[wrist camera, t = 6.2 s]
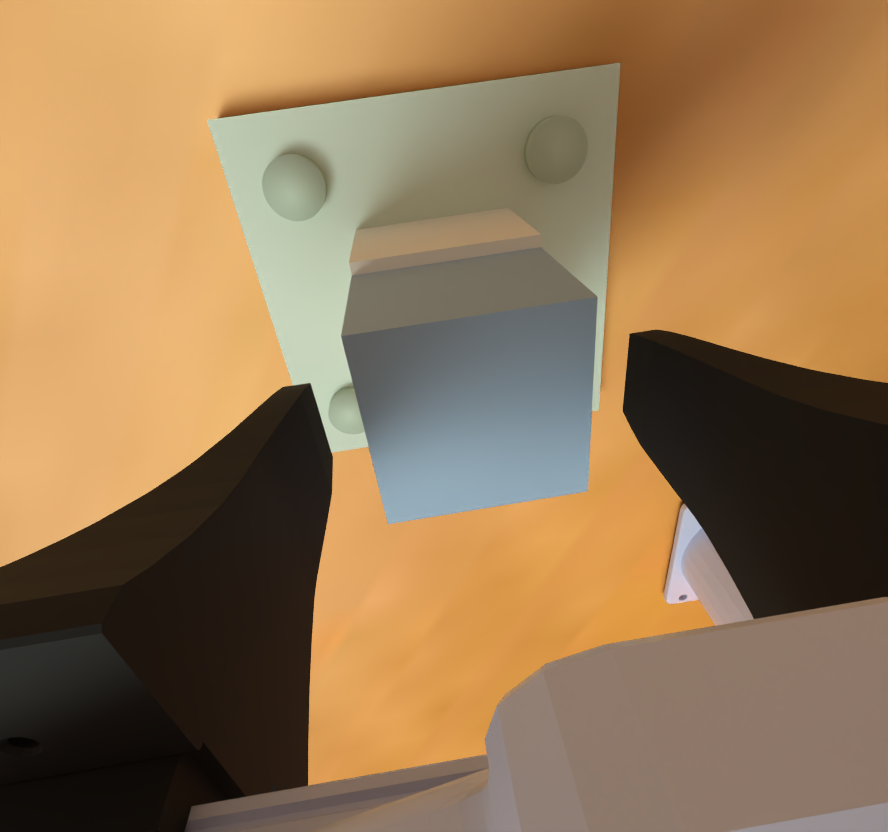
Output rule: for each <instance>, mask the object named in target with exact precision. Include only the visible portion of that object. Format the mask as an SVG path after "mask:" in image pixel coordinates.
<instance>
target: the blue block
mask: <svg viewBox="0 0 888 832" xmlns="http://www.w3.org/2000/svg"><path fill="white" fill-rule="evenodd" d="M597 300H598V297H597V296H596V295H595V294H594V293H593V292H592V291H591V290H589V289H588V288H587V287H586V286H585V285H584V284H583V283H581V282H580V281H579V280H578V279H577V278H576V277H575V276H574V275H572V274H571V273H570V272H569V271H568V270H567V269H566V268H564V267H563V266H562V265H561V264H560V263H559V262H558V261H556V260H555V259H554V258H553V257H552V256H551V255H550V254H548V253H547V252H546V251H545V250H544V249H543V248H542V247H539V248H532V249H526V250H519V251H512V252H506V253H499V254H493V255H486V256H479V257H473V258H466V259H459V260H453V261H446V262H440V263H433V264H426V265H420V266H413V267H406V268H400V269H393V270H386V271H380V272H373V273H367V274H360V275H353V276H352V277H351V282H350V288H349V294H348V299H347V305H346V311H345V316H344V322H343V328H342V333H341V338H342V342H343V346H344V350H345V354H346V358H347V362H348V366H349V370H350V374H351V378H352V382H353V386H354V390H355V394H356V398H357V402H358V406H359V410H360V414H361V418H362V422H363V426H364V430H365V434H366V438H367V442H368V446H369V450H370V454H371V458H372V462H373V466H374V470H375V474H376V478H377V482H378V486H379V490H380V494H381V498H382V502H383V506H384V510H385V514H386V518H387V522H388V524H392V523H398V522H404V521H410V520H416V519H422V518H428V517H434V516H440V515H446V514H453V513H459V512H465V511H471V510H477V509H483V508H489V507H495V506H501V505H507V504H513V503H519V502H525V501H532V500H538V499H544V498H550V497H556V496H562V495H568V494H574V493H580V492H586V491H588V476H589V456H590V437H591V417H592V398H593V378H594V359H595V339H596V320H597Z"/></svg>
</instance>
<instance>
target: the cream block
mask: <svg viewBox="0 0 888 832" xmlns="http://www.w3.org/2000/svg"><path fill="white" fill-rule="evenodd" d="M539 247H541V234H540V233H539V232H538V231H536V230H535V229H534V228H533V227H531V226H530V225H529V224H528V223H526V222H525V221H524V220H523V219H521V218H520V217H519V216H517V215H516V214H515V213H514V212H512V211H511V210H510V209H509V208H502V209H495V210H488V211H481V212H474V213H467V214H461V215H454V216H447V217H440V218H433V219H426V220H420V221H413V222H406V223H399V224H392V225H385V226H379V227H372V228H365V229H358V230H356V231H355V235H354V240H353V245H352V250H351V254H350V259H349V266H350V271H351V275H352V276H353V275H360V274H367V273H373V272H380V271H386V270H393V269H400V268H406V267H413V266H420V265H426V264H433V263H440V262H446V261H453V260H459V259H466V258H473V257H479V256H486V255H493V254H499V253H506V252H512V251H519V250H526V249H532V248H539Z"/></svg>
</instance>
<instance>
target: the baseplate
mask: <svg viewBox="0 0 888 832" xmlns="http://www.w3.org/2000/svg"><path fill="white" fill-rule="evenodd" d="M620 64H621V63H614V64H607V65H599V66H592V67H585V68H578V69H571V70H563V71H556V72H549V73H542V74H535V75H527V76H520V77H513V78H506V79H499V80H491V81H484V82H477V83H470V84H463V85H455V86H448V87H441V88H434V89H427V90H420V91H412V92H405V93H398V94H391V95H384V96H376V97H369V98H362V99H355V100H348V101H340V102H333V103H326V104H319V105H312V106H304V107H297V108H290V109H283V110H276V111H268V112H261V113H254V114H247V115H240V116H232V117H225V118H218V119H211V120H207V122H208V125H209V128H210V131H211V134H212V137H213V140H214V143H215V146H216V149H217V152H218V155H219V159H220V162H221V165H222V168H223V171H224V174H225V177H226V180H227V183H228V186H229V189H230V193H231V196H232V199H233V202H234V205H235V208H236V211H237V214H238V217H239V220H240V223H241V226H242V230H243V233H244V236H245V239H246V242H247V245H248V248H249V251H250V254H251V257H252V260H253V263H254V267H255V270H256V273H257V276H258V279H259V282H260V285H261V288H262V291H263V294H264V297H265V300H266V304H267V307H268V310H269V313H270V316H271V319H272V322H273V325H274V328H275V331H276V334H277V338H278V341H279V344H280V347H281V350H282V353H283V356H284V359H285V362H286V365H287V368H288V371H289V375H290V378H291V381H292V384H293V385H300V384H306V383H311V386H312V390H313V393H314V396H315V400H316V403H317V406H318V410H319V413H320V416H321V420H322V423H323V426H324V430H325V433H326V436H327V440H328V443H329V446H330V450H331V453H332V452H338V451H345V450H351V449H357V448H363V447H369V446H368V442H367V438H366V434H365V430H364V426H363V422H362V418H361V414H360V410H359V406H358V402H357V398H356V394H355V390H354V386H353V382H352V378H351V374H350V370H349V366H348V362H347V358H346V354H345V350H344V346H343V342H342V338H341V333H342V328H343V322H344V316H345V311H346V305H347V299H348V294H349V288H350V282H351V277H352V275H351V271H350V266H349V259H350V254H351V250H352V245H353V240H354V235H355V231H356V230H358V229H365V228H372V227H379V226H385V225H392V224H399V223H406V222H413V221H420V220H426V219H433V218H440V217H447V216H454V215H461V214H467V213H474V212H481V211H488V210H495V209H502V208H509V209H510V210H511V211H512V212H514V213H515V214H516V215H517V216H519V217H520V218H521V219H523V220H524V221H525V222H526V223H528V224H529V225H530V226H531V227H533V228H534V229H535V230H536V231H538V232H539V233H540V234H541V247H542V248H543V249H544V250H545V251H546V252H547V253H548V254H550V255H551V256H552V257H553V258H554V259H555V260H556V261H558V262H559V263H560V264H561V265H562V266H563V267H564V268H566V269H567V270H568V271H569V272H570V273H571V274H572V275H574V276H575V277H576V278H577V279H578V280H579V281H580V282H581V283H583V284H584V285H585V286H586V287H587V288H588V289H589V290H591V291H592V292H593V293H594V294H595V295H596V296H597V297H598V300H597V320H596V339H595V359H594V378H593V398H592V411H597V410H599V400H600V384H601V368H602V352H603V336H604V320H605V304H606V288H607V272H608V256H609V240H610V224H611V208H612V192H613V176H614V160H615V144H616V128H617V112H618V96H619V80H620Z"/></svg>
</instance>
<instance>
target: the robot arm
mask: <svg viewBox="0 0 888 832" xmlns="http://www.w3.org/2000/svg"><path fill="white" fill-rule="evenodd" d="M623 413H624V415H625V417H626V419H627V421H628V423H629V425H630V427H631V429H632V430H633V432H634V434H635V436H636V438H637V440H638V441H639V443H640V445H641V446H642V448H643V449H644V450H645V452H646V453H647V455H648V456H649V457H650V459H651V460H652V461H653V463H654V464H655V465H656V467H657V468H658V469H659V471H660V472H661V473H662V475H663V476H664V477H665V479H666V480H667V481H668V483H669V484H670V485H671V487H672V488H673V489H674V490H675V492H676V493H677V494H678V496H679V497H680V498H681V500H682V501H683V502H684V504H683V505H682V506H681V509H680V513H679V518H678V523H677V528H676V533H675V539H674V544H673V549H672V554H671V559H670V565H669V570H668V575H667V580H666V585H665V590H664V599H665V600H666V602H667V603H669V604H675V603H681V602H687V601H693V600H699V601H700V602H701V604H702V605H703V607H704V608H705V610H706V612H707V613H708V615H709V616H710V618H711V619H712V621H713V622H714V624H715V626H711V627H705V628H700V629H694V630H688V631H682V632H676V633H670V634H664V635H658V636H653V637H647V638H641V639H635V640H629V641H623V642H617V643H612V644H606V645H602V646H599V647H596V648H593V649H590V650H587V651H584V652H581V653H577V654H574V655H571V656H568V657H565V658H562V659H559V660H556V661H553V662H550V663H547V664H545V665H544V666H542V667H541V668H540V669H538V670H537V671H536V672H534V673H533V674H532V675H530V676H529V677H528V678H526V679H525V680H524V681H522V682H521V683H520V684H518V685H517V686H516V687H514V688H513V689H512V690H510V691H509V692H508V693H506V694H505V696H504V697H503V698H502V700H501V701H500V702H499V704H498V705H497V707H496V710H495V713H494V716H493V718H492V721H491V724H490V727H489V729H488V732H487V735H486V738H485V744H486V751H487V754H486V755H481V756H475V757H469V758H464V759H458V760H452V761H446V762H441V763H435V764H429V765H424V766H418V767H412V768H407V769H401V770H395V771H389V772H384V773H378V774H372V775H367V776H361V777H355V778H349V779H344V780H338V781H332V782H327V783H321V784H315V785H310V786H308V726H309V686H310V664H311V641H312V625H313V610H314V596H315V588H316V581H317V574H318V569H319V563H320V557H321V552H322V546H323V541H324V535H325V530H326V524H327V519H328V513H329V507H330V501H331V495H332V468H333V456H332V453H331V450H330V446H329V443H328V440H327V436H326V433H325V430H324V426H323V423H322V420H321V416H320V413H319V410H318V406H317V403H316V400H315V396H314V393H313V390H312V386H311V383H306V384H300V385H293V386H287V387H282V388H281V389H279V390H278V391H277V392H275V393H274V394H273V395H272V396H271V397H269V398H268V399H267V400H266V401H265V402H264V403H263V404H262V405H260V406H259V407H258V408H257V409H256V410H255V411H254V412H253V413H252V414H250V415H249V416H248V417H247V418H246V419H245V420H244V421H243V422H241V423H240V424H239V425H238V426H237V427H236V428H235V429H234V430H232V431H231V432H230V433H229V434H228V435H226V436H225V437H224V438H223V439H221V440H220V441H219V442H218V443H217V444H215V445H214V446H213V447H212V448H210V449H209V450H208V451H207V452H205V453H204V454H203V455H202V456H200V457H199V458H198V459H197V460H195V461H194V462H193V463H191V464H190V465H189V466H187V467H186V468H184V469H183V470H182V471H180V472H179V473H177V474H176V475H174V476H173V477H171V478H170V479H168V480H167V481H165V482H164V483H162V484H161V485H159V486H158V487H156V488H155V489H153V490H152V491H150V492H148V493H147V494H145V495H143V496H142V497H140V498H138V499H136V500H135V501H133V502H131V503H129V504H128V505H126V506H124V507H122V508H121V509H119V510H117V511H115V512H114V513H112V514H110V515H108V516H107V517H105V518H103V519H101V520H100V521H98V522H96V523H94V524H92V525H90V526H88V527H86V528H84V529H82V530H80V531H78V532H76V533H74V534H72V535H70V536H68V537H66V538H64V539H62V540H60V541H58V542H56V543H54V544H52V545H49V546H47V547H45V548H43V549H41V550H39V551H37V552H35V553H32V554H30V555H28V556H26V557H23V558H21V559H19V560H17V561H14V562H12V563H10V564H7V565H5V566H2V567H0V832H888V383H883V382H876V381H869V380H863V379H857V378H852V377H846V376H841V375H836V374H830V373H825V372H820V371H815V370H810V369H806V368H801V367H797V366H793V365H789V364H785V363H781V362H777V361H773V360H769V359H765V358H762V357H758V356H754V355H751V354H747V353H744V352H740V351H737V350H733V349H730V348H727V347H723V346H720V345H716V344H713V343H710V342H706V341H703V340H699V339H696V338H693V337H689V336H685V335H681V334H678V333H673V332H669V331H663V330H651V331H644V332H638V333H631V334H630V337H629V348H628V359H627V370H626V381H625V391H624V402H623Z"/></svg>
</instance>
